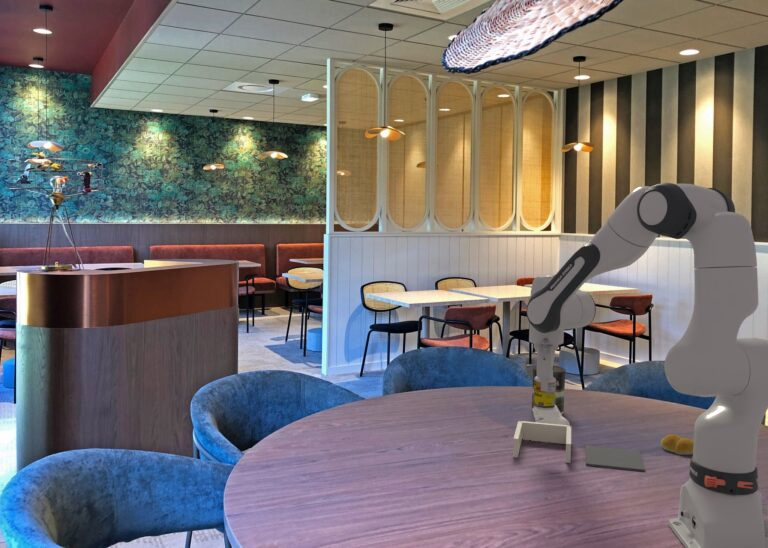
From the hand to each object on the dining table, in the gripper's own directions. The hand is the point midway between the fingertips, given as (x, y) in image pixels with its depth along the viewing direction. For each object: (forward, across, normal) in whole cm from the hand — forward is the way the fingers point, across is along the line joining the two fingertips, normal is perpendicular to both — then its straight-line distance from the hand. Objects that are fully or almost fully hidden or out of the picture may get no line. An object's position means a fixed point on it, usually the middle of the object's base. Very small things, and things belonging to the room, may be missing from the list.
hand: (544, 387), depth 177 cm
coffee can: (+18, +39, 0) cm, 43 cm away
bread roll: (+18, +13, -35) cm, 42 cm away
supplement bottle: (+6, 0, 0) cm, 6 cm away
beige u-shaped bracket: (+17, +2, 0) cm, 18 cm away
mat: (+18, 0, -18) cm, 25 cm away
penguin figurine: (+18, +20, -2) cm, 27 cm away
